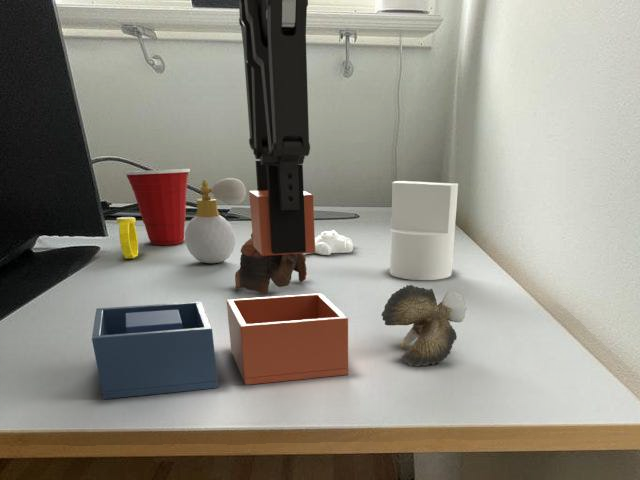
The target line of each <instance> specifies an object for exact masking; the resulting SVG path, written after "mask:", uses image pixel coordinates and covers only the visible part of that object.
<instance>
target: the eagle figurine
mask: <svg viewBox="0 0 640 480" xmlns="http://www.w3.org/2000/svg"><path fill="white" fill-rule="evenodd" d="M383 308H384V309H383V311H381V317H382V321H384V325H385V326H409V325H412V327H411V328H410V329H409V331H408V332H407V333H406V335H405V336H404V337H403V340H402V341H403V342H402V344H401V346H400V347H401V348H404V347H406V346H408V345H410V344H412V343H413V342H414V343H413V344H412V345H411V346H410V348H408V349H407V350H406V352H404V354H402V355H401V359H402V360H403V361H404V363H408V365H409V366H410V367H411V366H414V367H420V366H423V367H424V366H428V365H429V364H431V365H436V363H442V362H443V361H444V360H445V359H446V358H448V357H449V355H450V354H451V350H452V349H453V345H454V343H455V341H456V340H457V337H458V336H457V332H456V330H455V329H454V328H453V326H452V325H451V322H453V323H462V322H464V319H465V318H466V313H467V309H468V308H467V302H466V300H465V299H464V296H462V295H460V294H459V293H457V292H455V291H448V292H446V293H445V295H444V297H443V299H442V300H441V301H440V302H439V303H438V302H437V298H436V294H435V293H434V290H433V288H424V287H419V286H415V285H412V284H409V285H408V284H407V285H406V286H403V287H402V288H399V289H398V290H396V291H395V292H394V293H392V294H391V296H390V297H389V298H388V299H387V302H386V304H385V305H384V307H383Z"/></svg>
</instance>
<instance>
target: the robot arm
mask: <svg viewBox="0 0 640 480" xmlns="http://www.w3.org/2000/svg"><path fill="white" fill-rule="evenodd" d="M308 6H309V0H238V9H239V10H238V13H239V18H238V23H239V24H238V25H239V26H240V30H241V38H242V47H243V61H244V72H245V73H244V75H245V87H246V89H245V90H246V102H247V104H246V105H247V114H248V117H247V118H248V128H249V129H248V130H249V138H248V144H249V147H250V149H251V151H253V155H254V158H255V173H256V174H255V175H256V189H257V190H256V191H266V190H268V197H269V214H270V230H271V247H272V253H273V254H279V253H297V252H306V241H305V214H304V191H305V190H304V162H305V159H306V157H309V155H310V151H311V144H310V130H309V129H310V126H309V125H310V124H309V96H308V95H309V93H308V91H309V90H308V63H307V62H308V61H307V58H308V57H307V35H306V34H307V16H308V15H307V13H308V9H307V8H308Z"/></svg>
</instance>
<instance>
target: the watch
mask: <svg viewBox="0 0 640 480" xmlns="http://www.w3.org/2000/svg"><path fill="white" fill-rule="evenodd" d="M136 222H137V220H136V217H135V216H121V217H116V223H117V224H119V225H118V226H119V227H118V231H119V233H118V234H119V242H120V248H121V252H122V255H123V257H124V258H125V259H135V258H137V257H138V256H139V241H138V231H137V228H136V225H135V223H136Z"/></svg>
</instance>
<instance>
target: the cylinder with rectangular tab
mask: <svg viewBox="0 0 640 480" xmlns="http://www.w3.org/2000/svg"><path fill="white" fill-rule="evenodd" d="M458 191H459V183H451V182H433V181H414V180H413V181H411V180H395V181H392V183H391V211H390V212H391V213H390V248H389V249H390V250H389V275H391V276H392V277H394V278H398V279H404V280H409V281H411V280H412V281H437V280H443V279H447V278H449V277H451V276H452V275H453V273H452V272H453V263H454V262H453V260H454V246H455V245H454V244H455V235H456V233H455V232H456V219H457V218H456V217H457V207H458V204H457V203H458V194H459V193H458Z"/></svg>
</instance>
